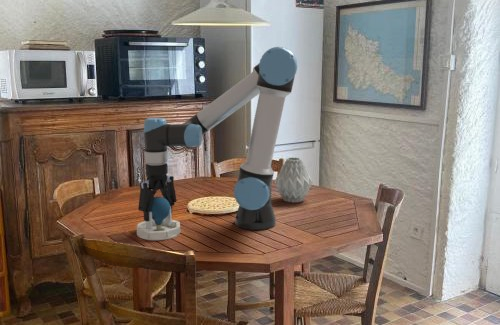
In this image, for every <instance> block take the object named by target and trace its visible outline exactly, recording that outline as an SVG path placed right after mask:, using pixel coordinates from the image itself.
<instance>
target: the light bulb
mask: <svg viewBox="0 0 500 325" xmlns="http://www.w3.org/2000/svg"><path fill="white" fill-rule="evenodd" d="M150 212H152V219H153V220H154V221H155V224H156V229H158V230H160V229H161V228H162V222H163V220H164V219H165V218H166V217H167V216H168V215H169V213H170V204H169V202H168V201H167V200H166V199H165V198H163V196H154V198H153V202H152V205H151V209H150Z"/></svg>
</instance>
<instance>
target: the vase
mask: <svg viewBox="0 0 500 325" xmlns="http://www.w3.org/2000/svg"><path fill="white" fill-rule="evenodd" d="M274 184H275V186H276V189H277V192H278V193H279V195H280V197H282V200H283V201H284V202H287V203H296V204H297V203H302V202H303V201H304V199H305V197H306V196H307V194H308V193H309V190H310V189H311V186H312V185H313V181H312V178H311V176H310V174H309V172H308V170H307V167H306V165H304V162H303V161H302V158H301V157H287V158H286V160H285V161H284V163H283V164H282V165H281V167H280V171H279V173H278V174H277V175H276V177H275V180H274Z"/></svg>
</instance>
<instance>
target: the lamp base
mask: <svg viewBox="0 0 500 325" xmlns="http://www.w3.org/2000/svg"><path fill="white" fill-rule="evenodd" d="M152 228H153V230H147V229H146V226H145V221H142V222H139V223H137V226H136V235H137V237H138V238H140V239H142V240H146V241H166V240H170V239H174V238H176V237H178V236H179V235H181V222H180V221H178V220H175V219H172V223H171V224H169V223H165V219H164V220H163V222H162V228H161V229H160V230H158V229H156V224H155V221H154V220H153V219H152Z"/></svg>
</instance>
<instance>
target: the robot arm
mask: <svg viewBox="0 0 500 325" xmlns="http://www.w3.org/2000/svg"><path fill="white" fill-rule="evenodd" d="M297 71H298V60H297V58H296V56H295V54H294V53H293V52H292V51H291V50H290V49H288V48H286V47H283V46H282V47H281V46H275V47H271V48H269V49H268V50H266V51H265V52H264V53H263V54H262V56H261V58H260V60H259V63H258V64H257V65H255V66H254V67H253V68H252V72H251V73H249V74H248V75H247V76H245V77H244V78H243V79H241V80H240V81H239V82H237V83H236V84H234V85H233V86H232V87H230V88H229V89H227V90H226V91H225V92H224V93H222V94H221V95H220V96H218V97H217V98H216V99H214V100H213V101H212V102H211V103H209V104H207V105H206V106H205V107H204V108H202V109H200V111H198V112H197V113H195V115H193V116H192V117H190V118H189V119H188V120H186V121H185V122H183V123H179V124H178V123H177V124H175V123H174V124H173V123H172V124H169V123H168V122H167V119H166V118H164V117H148V118H146V119H144V121H143V141H144V143H143V144H144V161H145V163H146V164H144V165H145V167H144V168H145V175H146V179H145V181H143V182H142V181H140V182H139V190H140V191H139V197H138V199H139V201H138V207H137V208H138V211H139V212H143V222H145V226H146V229H147V230H153V228H152V212H150V209H151V205H152V202H153V198H154V197H155V194H157V191H159V190H160V193H161V195H162V197H163V198H165V199H166V200H167V201H168V202H169V204H170V213H169V215H168V216H167V217H166V218H165V223H169V224H171V223H172V220H173V219H172V214H173V206H175V203H177V201H178V200H177V197H176V196H177V195H176V190H175V185H174V184H175V183H174V182H175V181H174V180H175V177H174V175H173V176H172V175H167V174H168V172H169V171H168V170H169V169H168V168H169V167H168V165H169V164H168V147H186V148H187V147H189V148H192V147H200V146H201V145H202V142H203V135H205V134H206V133H208V131H210V130H212V129H213V128H215V127H216V126H217V125H219V124H220V123H221V122H223V121H224V120H226V119H227V118H228V117H229V116H231V115H233V114H234V113H235V112H236V111H238V110H239V109H241V108H242V107H244V106H245V105H246V104H247V103H249V102H250V101H251V100H253V99H255V98H256V97H258V99H257V104H256V109H255V114H254V119H253V124H252V128H251V134H250V139H249V143H248V149H247V154H246V158H245V162H243V163H241V164H240V165H239V170H238V174H237V180H236V183H235V186H234V189H233V196H234V199H235V201H236V203H237V204H238V209H237V210H236V211H237V212H236V215H235V217H234V218H235V219H234V220H235V221H234V223H235V226H236V227H238V228H240V229H244V230H249V231H250V230H251V231H258V230H259V231H261V230H268V229H271V228H273V227H275V226H276V222H277V219H276V217H277V216H276V215H275V211H274V209H273V205H272V184H273V179H274V178H273V177H274V172H275V171H274V170H273V168H272V166H271V165H272V163H273V162H272V161H273V157H274V152H275V147H276V142H277V138H278V134H279V129H280V123H281V119H282V114H283V110H284V106H285V100H286V97H287V96H289V95H290V94H292V90H293V85H294V83H295V82H294V81H295V76H296V75H297Z"/></svg>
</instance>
